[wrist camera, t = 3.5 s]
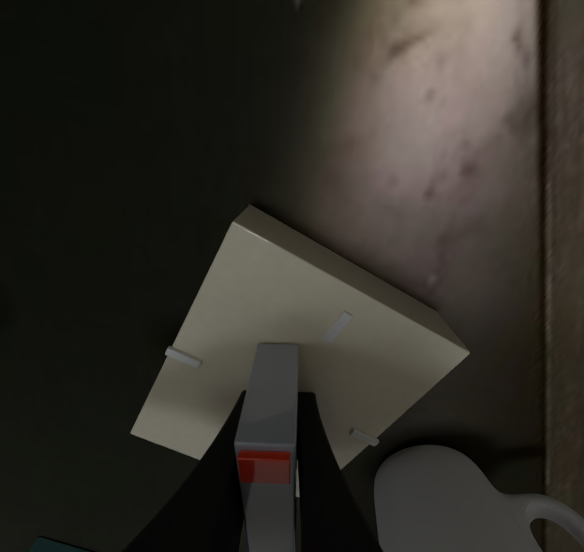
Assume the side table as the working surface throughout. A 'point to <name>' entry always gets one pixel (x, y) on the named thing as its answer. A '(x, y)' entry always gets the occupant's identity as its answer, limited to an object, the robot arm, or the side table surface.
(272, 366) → the gray rectangular block
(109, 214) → the side table surface
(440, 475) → the cup
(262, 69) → the side table surface
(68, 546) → the button block
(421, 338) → the panel
